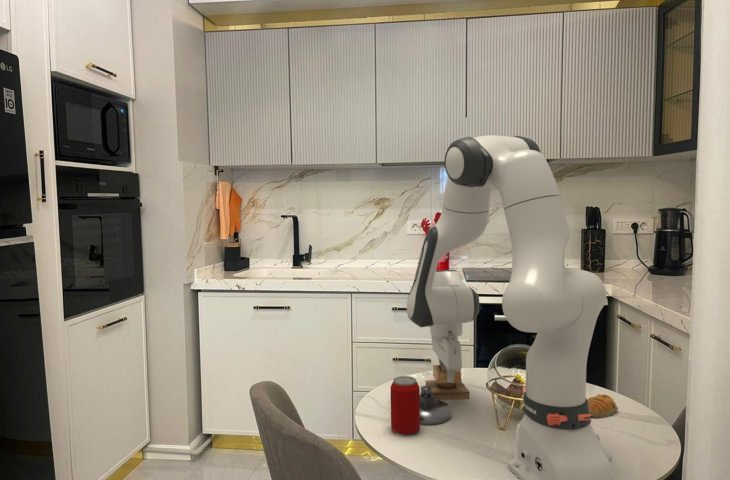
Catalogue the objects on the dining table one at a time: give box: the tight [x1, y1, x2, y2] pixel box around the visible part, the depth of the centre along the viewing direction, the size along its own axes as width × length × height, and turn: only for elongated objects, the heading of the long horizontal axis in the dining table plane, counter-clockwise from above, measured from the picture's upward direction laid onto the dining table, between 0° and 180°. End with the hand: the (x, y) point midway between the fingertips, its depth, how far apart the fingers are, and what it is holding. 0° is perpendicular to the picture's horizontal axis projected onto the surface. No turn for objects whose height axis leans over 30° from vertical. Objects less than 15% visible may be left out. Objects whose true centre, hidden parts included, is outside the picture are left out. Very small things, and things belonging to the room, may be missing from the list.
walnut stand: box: [425, 362, 470, 401], centre depth 139 cm, size 10×10×8 cm
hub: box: [420, 385, 452, 426], centre depth 125 cm, size 12×12×7 cm
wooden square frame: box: [432, 364, 462, 383], centre depth 139 cm, size 6×6×3 cm
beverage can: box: [390, 375, 421, 436], centre depth 116 cm, size 7×7×12 cm
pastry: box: [587, 393, 619, 419], centre depth 125 cm, size 9×7×4 cm
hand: (446, 376), depth 139 cm, fingers closed on wooden square frame, 6 cm apart
